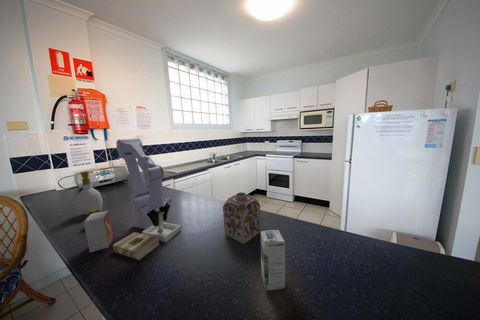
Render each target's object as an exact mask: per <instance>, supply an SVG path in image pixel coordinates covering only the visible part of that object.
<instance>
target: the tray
mask: <svg viewBox="0 0 480 320" xmlns="http://www.w3.org/2000/svg"><path fill="white" fill-rule="evenodd" d="M163 223H164V232H162V233H157V230H156V226H153V225H152V226H150V227H148V228H147V229H143V231H141V234H144V235H148V236H153V237H157V238H158V239H159V242H161V243H167V242H169V241H170V240H172V239H173V238H174V237H175V236H177V235H178V234H179V233H180V232H182V225H179V224H176V223H170V222H166V221H163Z"/></svg>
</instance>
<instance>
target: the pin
mask: <svg viewBox="0 0 480 320" xmlns="http://www.w3.org/2000/svg"><path fill="white" fill-rule="evenodd" d="M155 211H156V212H159V213H158V226H157V227H156V230H157V233H162V232H164V223H163V222H164V221H163V214H164V210H159V209H158V210H155Z"/></svg>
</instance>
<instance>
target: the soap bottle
mask: <svg viewBox="0 0 480 320" xmlns="http://www.w3.org/2000/svg"><path fill="white" fill-rule="evenodd" d="M89 173H91V171H88V170H87V171H81V172H80V176H81V178H82V179H81V183H82V185H81V187H82V190H81V191H80V192H78V194H77V198H76V199H77V204H78V207H79V209H80V210H81V212H82V214H84V215H86V216H88V212H90V211H92V209H98V208H99V209H100V210H101V211H102V209H103V197H102V195H101V193H100V191H99V190H97V189H95V188H94V187H93V184H92V182H91V178H89V177H90V174H89ZM92 207H93V208H92Z"/></svg>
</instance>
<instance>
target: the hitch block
mask: <svg viewBox="0 0 480 320" xmlns="http://www.w3.org/2000/svg"><path fill="white" fill-rule="evenodd" d="M159 246H160V241H159V239H158V238H157V237H153V236H148V235H144V234H142V233H139V232H131V234H129V235H127V236H125V237H124V238H121V239H120V240H119V241H117V242H115V243H113V244H112V248H113V252H114V253H116V254H120V255H123V256H126V257H128V258H131V259H134V260H138V261H139V260H141V259H142V258H144V257H145V256H146V255H148V254H149V253H150V252H152V251H153V250H154V249H155V248H157V247H159Z"/></svg>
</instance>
